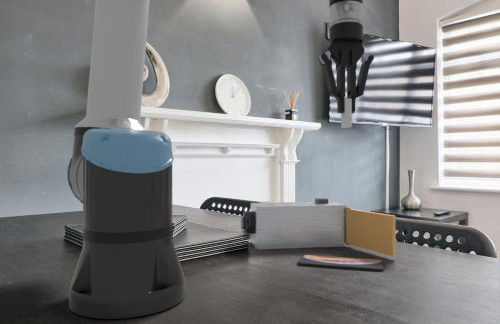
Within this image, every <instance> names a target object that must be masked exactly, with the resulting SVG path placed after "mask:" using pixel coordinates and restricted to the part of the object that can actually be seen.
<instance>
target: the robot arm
mask: <svg viewBox="0 0 500 324" xmlns="http://www.w3.org/2000/svg"><path fill="white" fill-rule="evenodd" d="M150 1H151V0H95V6H94V7H95V9H94V19H93V29H92V30H93V31H92V40H91V41H92V42H91V52H90V65H89V66H90V68H89V77H88V78H89V79H88V89H87V101H86V113H85V117H84V118H83V119H82V120H81V121H80V122H78V123H77V124H75V125H74V134H73V136H74V137H73V146H72V155H71V158H70V160H69V164H68V165H67V168H66V169H67V170H66V178H67V183H68V186H69V189H70V191H71V192H72V195H74V197H75V198H76V199H77V200H78V201H80V203H81V204H82V214H83V215H82V229H83V230H82V231H83V232H82V233H83V234H82V236H83V237H82V238H83V239H82V241H83V242H82V243H83V244H82V248H81V252H80V254H79V257H78V261H77V264H76V265H75V266H76V267H75V269H74V273H73V276H72V279H71V282H70V285H69V288H68V308H69V309H70V311H71V312H73V313H74V314H76V315H79V316H81V317H86V318H90V319H102V320H112V319H114V320H118V319H119V320H120V319H130V318H132V319H133V318H137V317H143V316H149V315H152V314H157V313H160V312H162V311H166V310H168V309H172V308H173V307H175V306H176V305H178V304H179V303H181V302H182V301H183V300H184V298H185V297H186V278H185V274H184V271H183V268H182V265H181V262H180V259H179V256H178V253H177V250H176V248H175V244H174V239H173V162H174V158H175V157H174V153H173V152H172V147H173V146H172V141H171V138H170V136H169V135H168V134H167V133H165V132H162V131H158V130H146V129H145V127H144V126H143V125H142V123H141V113H142V102H143V101H142V100H143V88H144V87H143V85H144V77H145V75H144V74H145V61H146V50H147V40H148V39H147V38H148V26H149V15H150V14H149V13H150V12H149V11H150ZM328 2H329V6H328V7H329V20H328V21H329V46H328V48H327V51H326V52H325V53H322V54H321V55H319V56H318V61H319V63H320V64H321V66H322V70H323V74H324V78H325V79H324V80H325V82H326V83H325V84H326V86H327V91H328V95H329V97H331V98H335V100H336V103H337V105H336V106H337V107H336V108H337V110H336V111H337V113H338V114H340V128H341V129H349V128H352V127H353V126H352V123H353V122H352V120H353V119H352V114H354V113H356V99H358V98H360V97H362V96H364V92H365V89H366V84H367V80H368V76H369V71H370V66H371V64H372V63H373V61H374V60H375V56H374V55H373V54H371V55H369V54H368V53H366V52H365V47H364V45H363V41H364V26H363V21H364V18H363V17H364V12H363V11H364V5H363V0H328ZM360 59H361V60H360ZM331 60H332V61H333V63H334V64H335V71H336V79H335V74H334V70H333V66H332V63H331ZM359 61H361V62H360V63H361V65H360V68H359V71H358V72H359V73H358V77H357V67H358V63H359Z"/></svg>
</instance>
